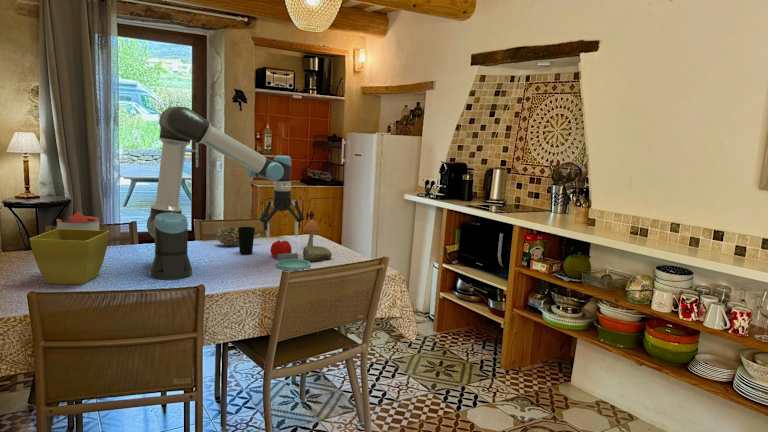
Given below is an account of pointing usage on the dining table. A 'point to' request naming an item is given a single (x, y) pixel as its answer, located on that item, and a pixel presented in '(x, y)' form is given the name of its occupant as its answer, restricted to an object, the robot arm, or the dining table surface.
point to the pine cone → (229, 236)
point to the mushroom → (311, 230)
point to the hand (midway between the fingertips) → (282, 236)
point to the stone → (316, 253)
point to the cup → (246, 240)
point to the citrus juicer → (79, 222)
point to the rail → (287, 256)
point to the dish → (293, 264)
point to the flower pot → (70, 254)
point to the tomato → (280, 248)
